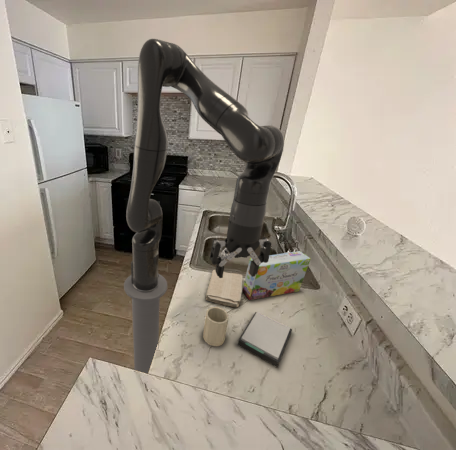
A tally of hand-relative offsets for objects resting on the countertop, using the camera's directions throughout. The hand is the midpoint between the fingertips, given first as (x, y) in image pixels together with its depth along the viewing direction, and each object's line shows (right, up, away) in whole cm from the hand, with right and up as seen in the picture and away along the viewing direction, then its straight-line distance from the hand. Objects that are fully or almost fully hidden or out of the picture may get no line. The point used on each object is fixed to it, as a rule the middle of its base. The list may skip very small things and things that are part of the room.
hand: (235, 275), depth 66 cm
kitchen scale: (+12, -21, +9) cm, 25 cm away
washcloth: (+5, -11, +29) cm, 32 cm away
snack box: (+22, -12, +28) cm, 38 cm away
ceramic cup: (-3, -20, +10) cm, 23 cm away
